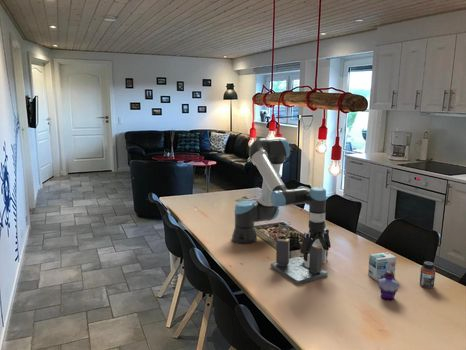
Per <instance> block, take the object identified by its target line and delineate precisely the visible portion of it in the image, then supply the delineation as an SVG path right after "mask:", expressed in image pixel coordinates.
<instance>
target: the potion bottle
mask: <svg viewBox="0 0 466 350" xmlns="http://www.w3.org/2000/svg"><path fill="white" fill-rule="evenodd" d="M395 278H396V277H395V276H394V274H393V272H392V271H389V270H388V271H386V273H384V278H383V279H379V280H378V284H379V285H378V287H379V290H380V299H383V300H384V301H390V302H392V301H394V300H395V296H396V294H397V292H398V290H399V287H400V284H399V282H398V281H396V280H394V279H395Z"/></svg>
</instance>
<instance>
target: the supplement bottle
mask: <svg viewBox="0 0 466 350" xmlns="http://www.w3.org/2000/svg"><path fill="white" fill-rule="evenodd" d="M434 264H435V263H434V262H431V261H429V260H428V261H424V262H423V265H421V267H420V274H419V286H420V287H421V288H424V289H429V290H431V289H433V288H435V280H436V279H435V278H436V268H435V267H434Z"/></svg>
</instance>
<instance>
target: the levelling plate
mask: <svg viewBox="0 0 466 350" xmlns="http://www.w3.org/2000/svg"><path fill="white" fill-rule="evenodd" d="M271 267H272V270H274V269H275V270H274V271H276V272H277V271H278V272H277V273H278V274H280V273H281V275H282V276H284V277H285V278H286V277H287V278H286V279H288V280H289V279H290V280H289V281H291V282H292V281H293V283H294V282H295V283H294V284H295V285H297V284H298V285H297V286H300V285H303V284H306V283H309V282H313V281H316V280H319V279H323V278H326V277H328V271H325V270H324V269H322V268H321V271H320V273H311V272H310V268H307V267H306V266H304V258H302V257H300V256H296V257H291V258H290V257H289V264H288V265H287V266H285V267H281V266H279V265H278V263H276V261H275V262H272V263H270V268H271ZM299 284H300V285H299Z"/></svg>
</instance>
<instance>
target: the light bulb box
mask: <svg viewBox="0 0 466 350" xmlns="http://www.w3.org/2000/svg"><path fill="white" fill-rule="evenodd" d="M368 258H369V260H368V272H367V275H368V276H369V277H371V278H372V279H373V280H375V281H379V279H383V278H384V273H386V271H388V270H389V271H392V272H393V274H394V276H395V275H396V264H397V257H396V256H395V255H393V254H392V253H390V252H388V251H386V252H378V253H370V254H369V256H368Z"/></svg>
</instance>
